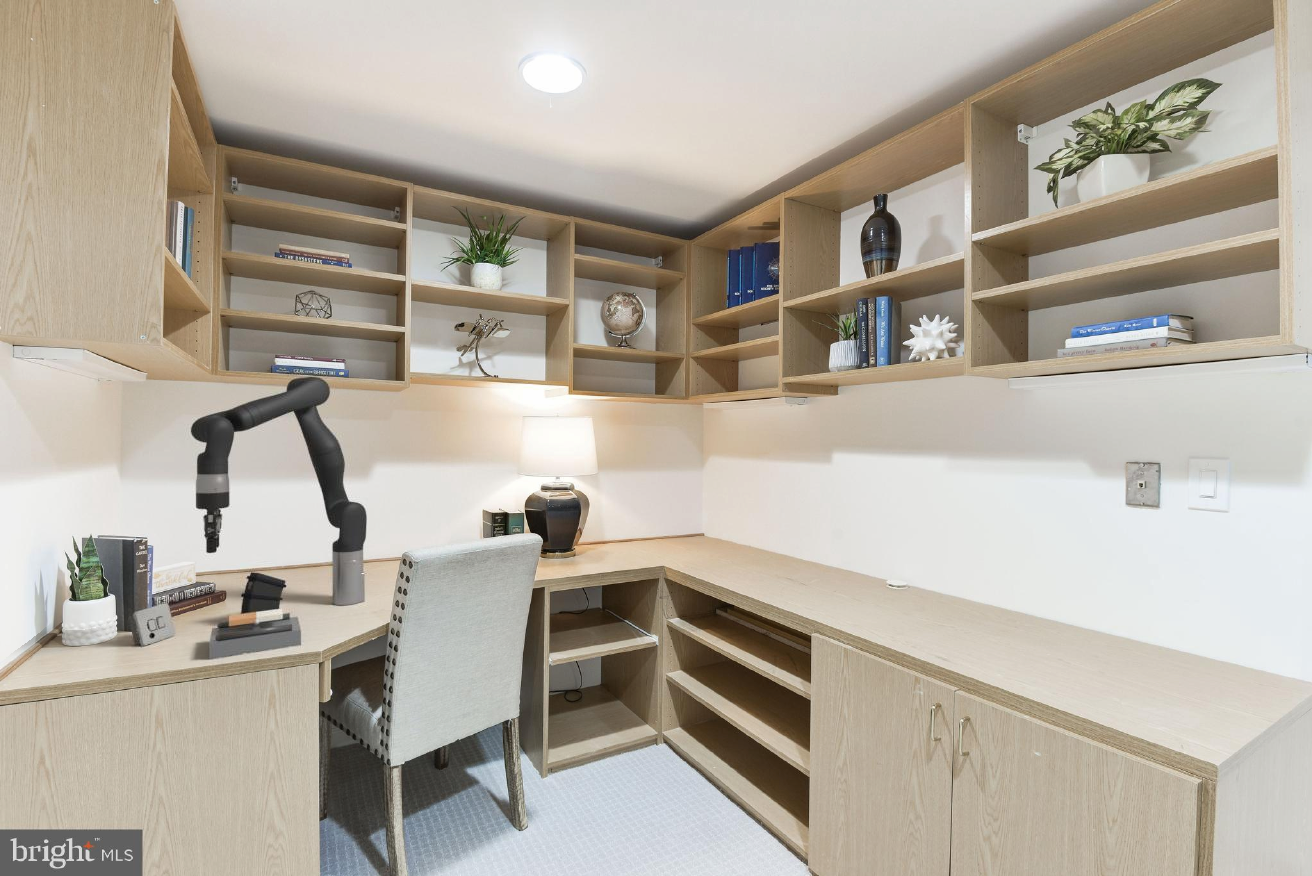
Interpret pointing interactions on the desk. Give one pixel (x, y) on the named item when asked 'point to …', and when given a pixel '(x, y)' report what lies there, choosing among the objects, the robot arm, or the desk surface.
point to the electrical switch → (152, 624)
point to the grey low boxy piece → (254, 636)
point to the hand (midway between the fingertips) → (213, 550)
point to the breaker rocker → (255, 617)
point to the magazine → (262, 593)
